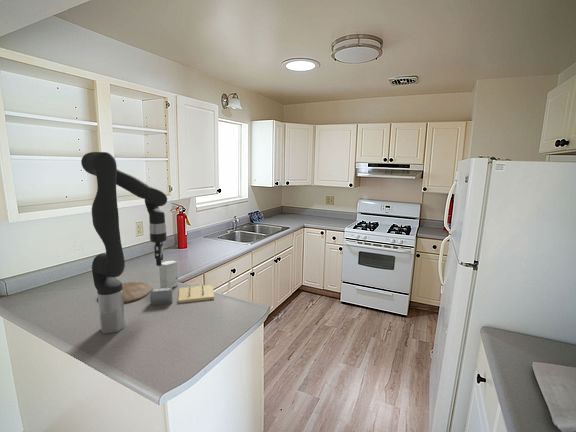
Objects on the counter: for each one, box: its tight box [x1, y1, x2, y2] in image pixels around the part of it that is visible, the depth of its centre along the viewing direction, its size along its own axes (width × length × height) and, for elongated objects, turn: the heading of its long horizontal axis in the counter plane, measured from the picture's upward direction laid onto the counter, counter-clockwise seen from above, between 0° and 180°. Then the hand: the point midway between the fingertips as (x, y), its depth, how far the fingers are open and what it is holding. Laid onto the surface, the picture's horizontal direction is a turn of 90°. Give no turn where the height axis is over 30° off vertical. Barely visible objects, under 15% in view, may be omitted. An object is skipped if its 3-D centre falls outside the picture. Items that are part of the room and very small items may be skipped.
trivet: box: [122, 281, 152, 304], centre depth 165 cm, size 25×25×2 cm
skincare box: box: [158, 260, 179, 289], centre depth 174 cm, size 8×6×15 cm
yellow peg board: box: [177, 284, 215, 304], centre depth 165 cm, size 16×18×4 cm
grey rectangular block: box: [150, 287, 174, 306], centre depth 155 cm, size 4×10×7 cm, turn 107°
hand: (159, 262), depth 152 cm, fingers open, 8 cm apart
